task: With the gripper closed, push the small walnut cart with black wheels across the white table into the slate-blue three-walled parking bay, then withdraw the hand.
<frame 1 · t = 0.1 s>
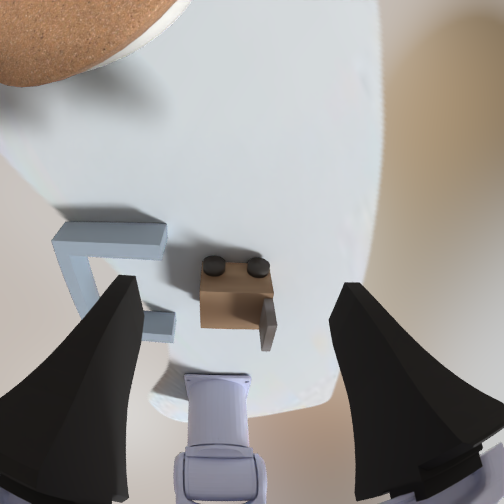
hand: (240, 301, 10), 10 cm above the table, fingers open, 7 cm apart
bay: (130, 277, 22), on the table
cart: (233, 281, 23), on the table
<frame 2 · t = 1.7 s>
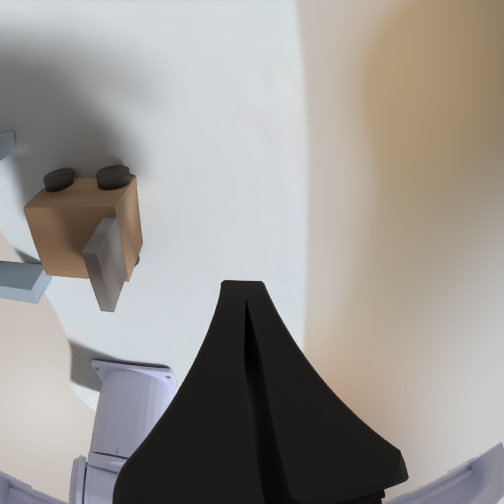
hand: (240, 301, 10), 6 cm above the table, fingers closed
cart: (97, 210, 14), on the table
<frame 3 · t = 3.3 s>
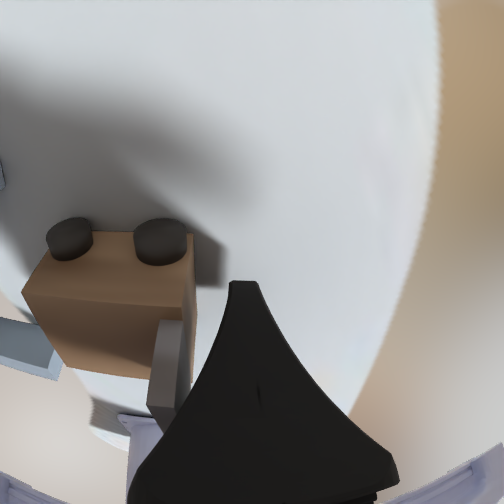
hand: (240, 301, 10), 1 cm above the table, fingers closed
cart: (130, 276, 10), on the table, touching gripper
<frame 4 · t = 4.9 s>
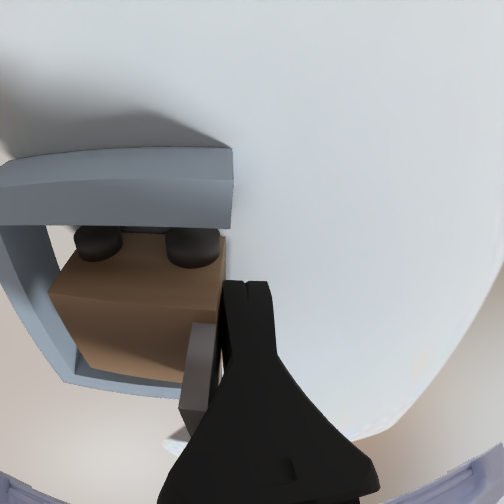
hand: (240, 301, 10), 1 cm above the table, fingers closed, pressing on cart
bay: (135, 280, 11), on the table
cart: (159, 278, 10), on the table, touching gripper
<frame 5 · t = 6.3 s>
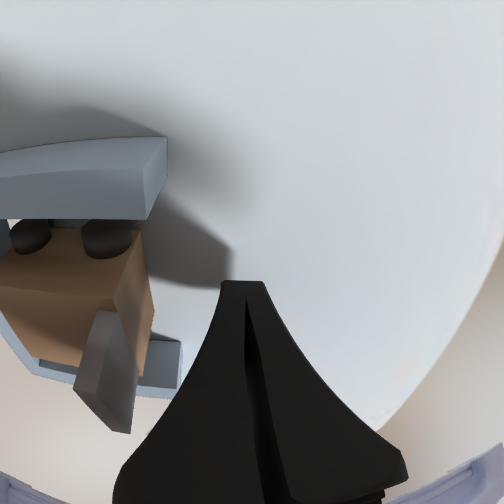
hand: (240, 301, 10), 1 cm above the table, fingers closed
bay: (88, 273, 10), on the table
cart: (89, 270, 10), on the table
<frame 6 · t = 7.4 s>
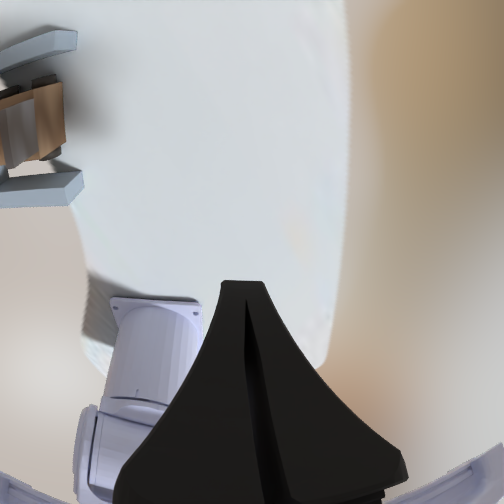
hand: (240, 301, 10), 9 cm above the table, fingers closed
bay: (34, 118, 13), on the table
cart: (34, 117, 13), on the table
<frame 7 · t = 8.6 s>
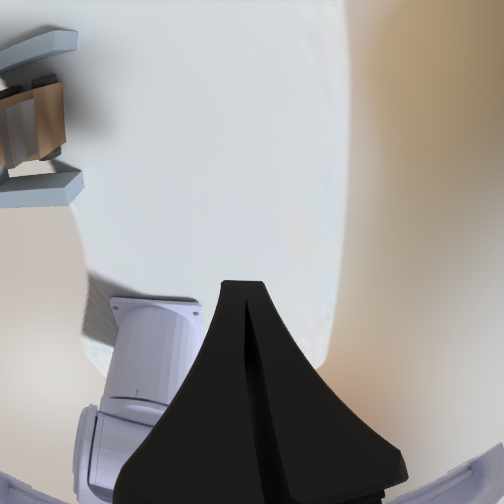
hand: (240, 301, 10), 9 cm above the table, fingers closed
bay: (34, 118, 13), on the table
cart: (34, 117, 13), on the table
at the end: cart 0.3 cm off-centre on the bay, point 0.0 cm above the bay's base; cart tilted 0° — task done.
